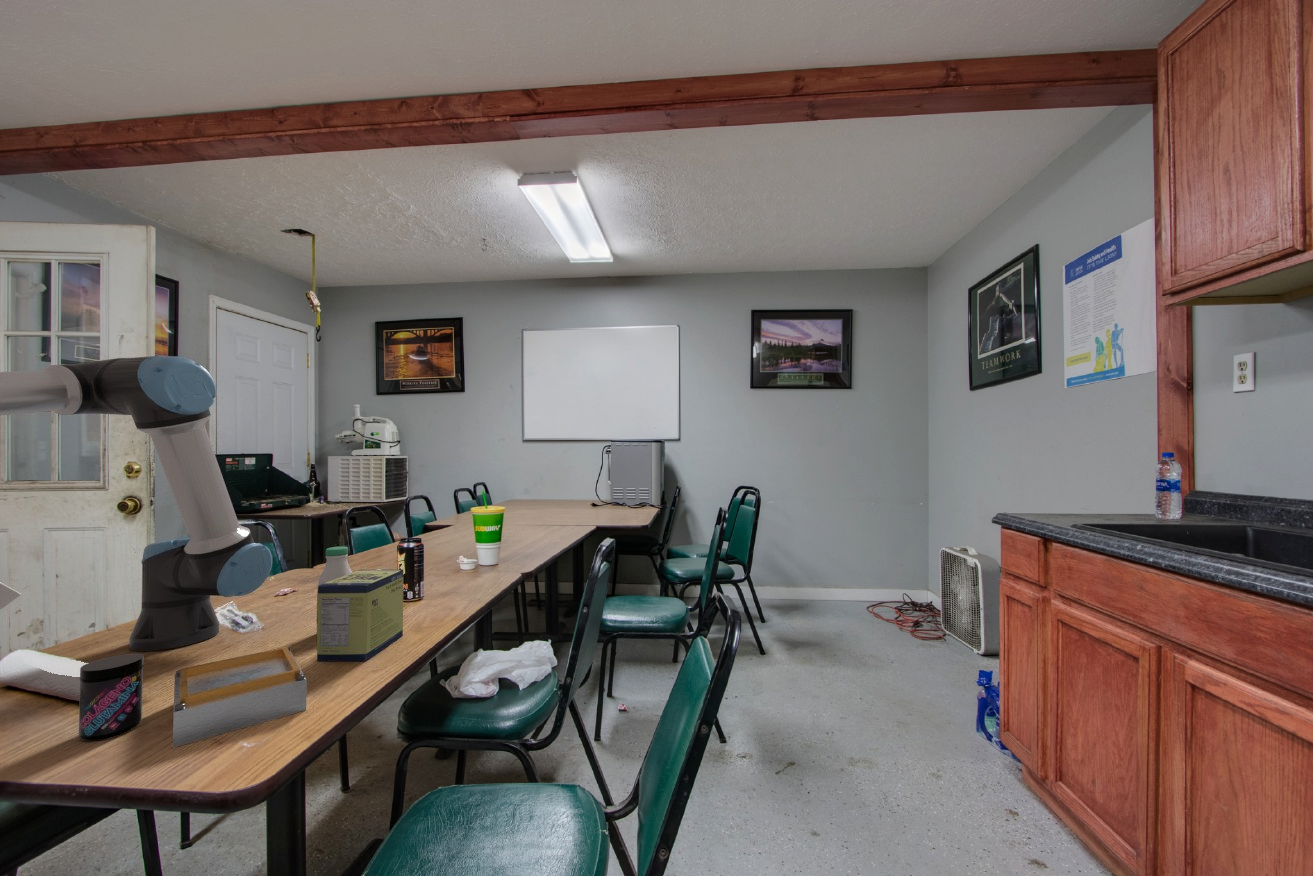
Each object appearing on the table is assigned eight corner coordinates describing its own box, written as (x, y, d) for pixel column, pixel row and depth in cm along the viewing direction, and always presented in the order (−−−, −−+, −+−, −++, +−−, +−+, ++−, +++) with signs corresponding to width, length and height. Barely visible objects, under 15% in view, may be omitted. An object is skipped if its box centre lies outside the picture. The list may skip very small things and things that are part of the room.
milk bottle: (333, 626, 127) (334, 544, 128) (362, 627, 126) (363, 545, 127) (308, 637, 120) (309, 550, 120) (338, 638, 119) (339, 550, 119)
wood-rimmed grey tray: (174, 704, 87) (174, 667, 87) (289, 676, 98) (289, 643, 98) (172, 748, 74) (173, 703, 74) (306, 710, 85) (306, 671, 85)
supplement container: (63, 745, 75) (65, 672, 75) (105, 721, 82) (107, 654, 82) (116, 741, 76) (118, 669, 76) (153, 718, 83) (155, 652, 83)
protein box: (403, 635, 120) (404, 568, 121) (366, 662, 105) (367, 584, 105) (359, 636, 120) (359, 568, 121) (315, 662, 105) (316, 585, 105)
